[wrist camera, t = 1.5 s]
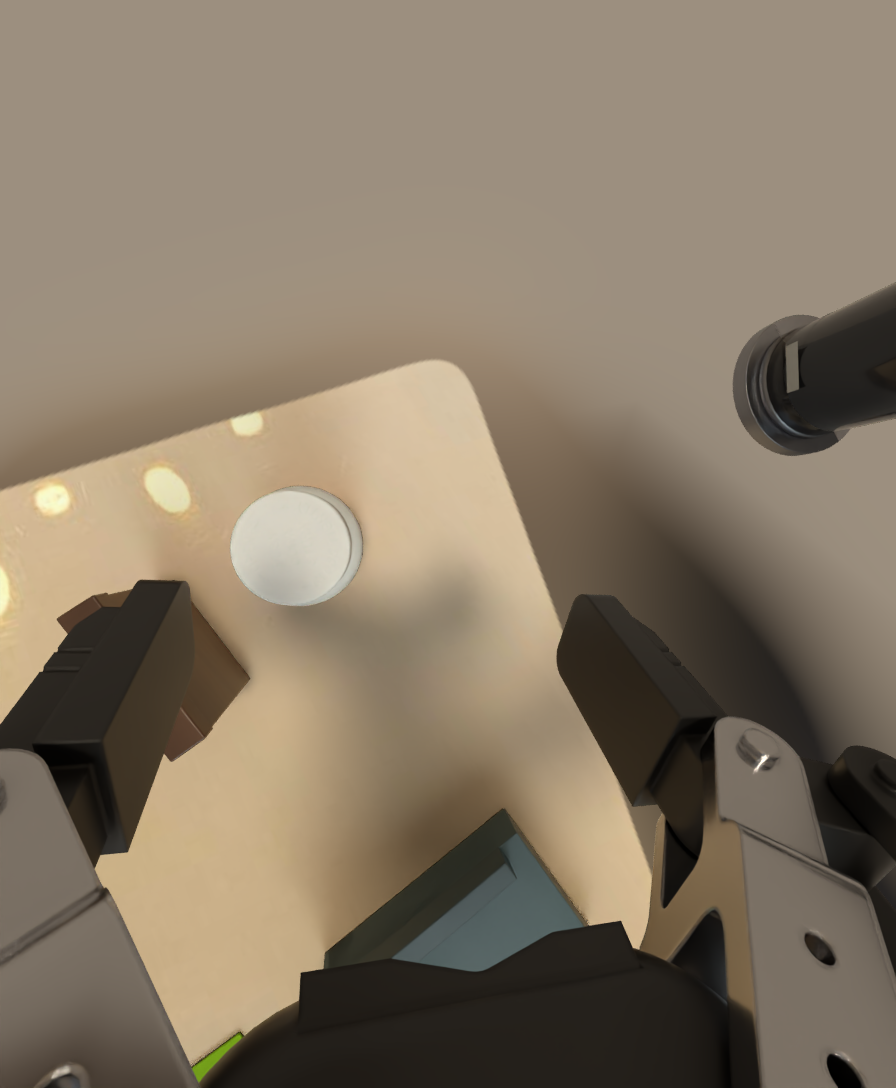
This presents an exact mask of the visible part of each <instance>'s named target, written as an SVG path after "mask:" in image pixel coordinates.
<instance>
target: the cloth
mask: <svg viewBox="0 0 896 1088" xmlns="http://www.w3.org/2000/svg"><path fill="white" fill-rule="evenodd" d="M242 1038H243V1036H242V1034H241V1033H240V1032H239V1033H238V1034H237V1035H235V1036H234V1037H232V1038H231V1039H230V1040H228V1041H227V1042H226V1043H224V1044H223V1045H222V1046H220V1047H219V1048H218V1049H216V1050H215V1051H213V1052H212V1053H211V1054H209V1055H208V1056H207V1057H205V1058H204V1059H203V1060H201V1061H200V1062H199V1063H197V1064H196V1065H195V1066H193V1067H192V1070H193V1072H194V1074H195V1076H196V1078H197V1080H198V1083H199V1082H200V1081H201V1079H202V1078H203V1077H204V1076H205V1074H206V1073H207V1072H208V1071H209V1070H210V1069H211V1068H212V1067H213V1066H214V1065H215V1064H216V1063H217V1062H218V1061H219V1059H220V1058H221V1057H222V1056H223V1055H224V1054H225V1053H226V1052H227V1051H228V1050H229V1049H230V1048H231V1047H232V1046H233V1045H235V1044H236V1043H237V1042H238V1041H239V1040H240V1039H242Z"/></svg>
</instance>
